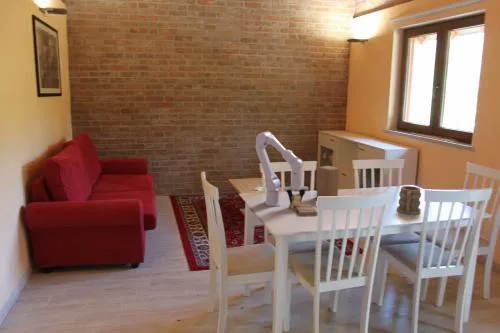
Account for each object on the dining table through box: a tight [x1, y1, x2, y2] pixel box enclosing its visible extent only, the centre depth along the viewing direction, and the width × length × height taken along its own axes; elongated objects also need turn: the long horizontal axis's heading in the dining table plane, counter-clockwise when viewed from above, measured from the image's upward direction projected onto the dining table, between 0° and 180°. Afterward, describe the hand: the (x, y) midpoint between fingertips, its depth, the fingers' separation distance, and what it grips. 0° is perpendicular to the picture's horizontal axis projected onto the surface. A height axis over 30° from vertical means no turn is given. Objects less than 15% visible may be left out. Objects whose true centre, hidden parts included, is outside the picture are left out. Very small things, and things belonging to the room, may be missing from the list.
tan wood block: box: [289, 193, 302, 210], centre depth 262 cm, size 5×5×8 cm
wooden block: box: [316, 165, 340, 198], centre depth 284 cm, size 10×10×20 cm
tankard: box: [396, 185, 422, 216], centre depth 256 cm, size 20×13×15 cm, turn 152°
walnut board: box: [294, 200, 318, 217], centre depth 260 cm, size 22×10×2 cm, turn 8°
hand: (295, 202), depth 263 cm, fingers closed on tan wood block, 5 cm apart
